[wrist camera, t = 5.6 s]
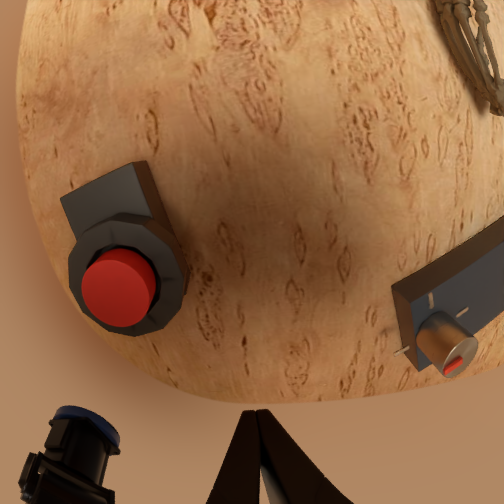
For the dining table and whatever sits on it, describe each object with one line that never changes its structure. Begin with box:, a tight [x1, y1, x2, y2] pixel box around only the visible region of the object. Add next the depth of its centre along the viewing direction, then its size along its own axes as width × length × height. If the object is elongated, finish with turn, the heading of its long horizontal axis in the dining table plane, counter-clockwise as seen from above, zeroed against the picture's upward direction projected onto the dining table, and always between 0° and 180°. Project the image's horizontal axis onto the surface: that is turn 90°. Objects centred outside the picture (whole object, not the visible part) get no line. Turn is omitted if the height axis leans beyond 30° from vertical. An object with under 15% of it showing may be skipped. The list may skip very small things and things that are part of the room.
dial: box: [416, 312, 478, 378], centre depth 19 cm, size 4×4×4 cm
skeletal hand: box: [435, 0, 504, 117], centre depth 13 cm, size 6×17×6 cm
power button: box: [82, 248, 156, 327], centre depth 14 cm, size 4×4×2 cm
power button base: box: [60, 160, 191, 337], centre depth 17 cm, size 9×6×5 cm
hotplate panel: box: [391, 216, 504, 372], centre depth 22 cm, size 20×8×3 cm, turn 114°
